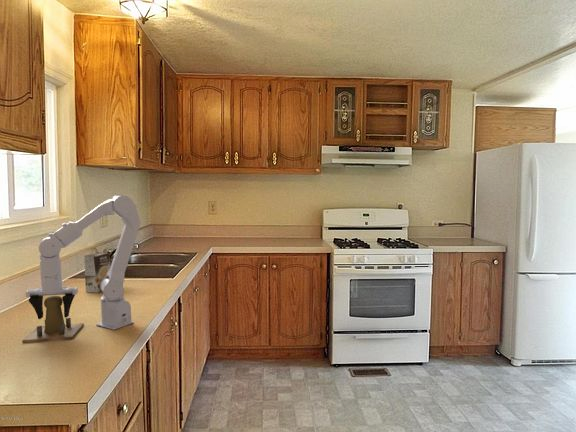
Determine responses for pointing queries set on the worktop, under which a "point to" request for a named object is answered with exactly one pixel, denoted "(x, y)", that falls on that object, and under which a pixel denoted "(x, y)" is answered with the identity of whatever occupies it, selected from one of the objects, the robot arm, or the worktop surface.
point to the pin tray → (63, 334)
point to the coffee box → (96, 270)
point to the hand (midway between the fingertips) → (53, 317)
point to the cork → (53, 314)
